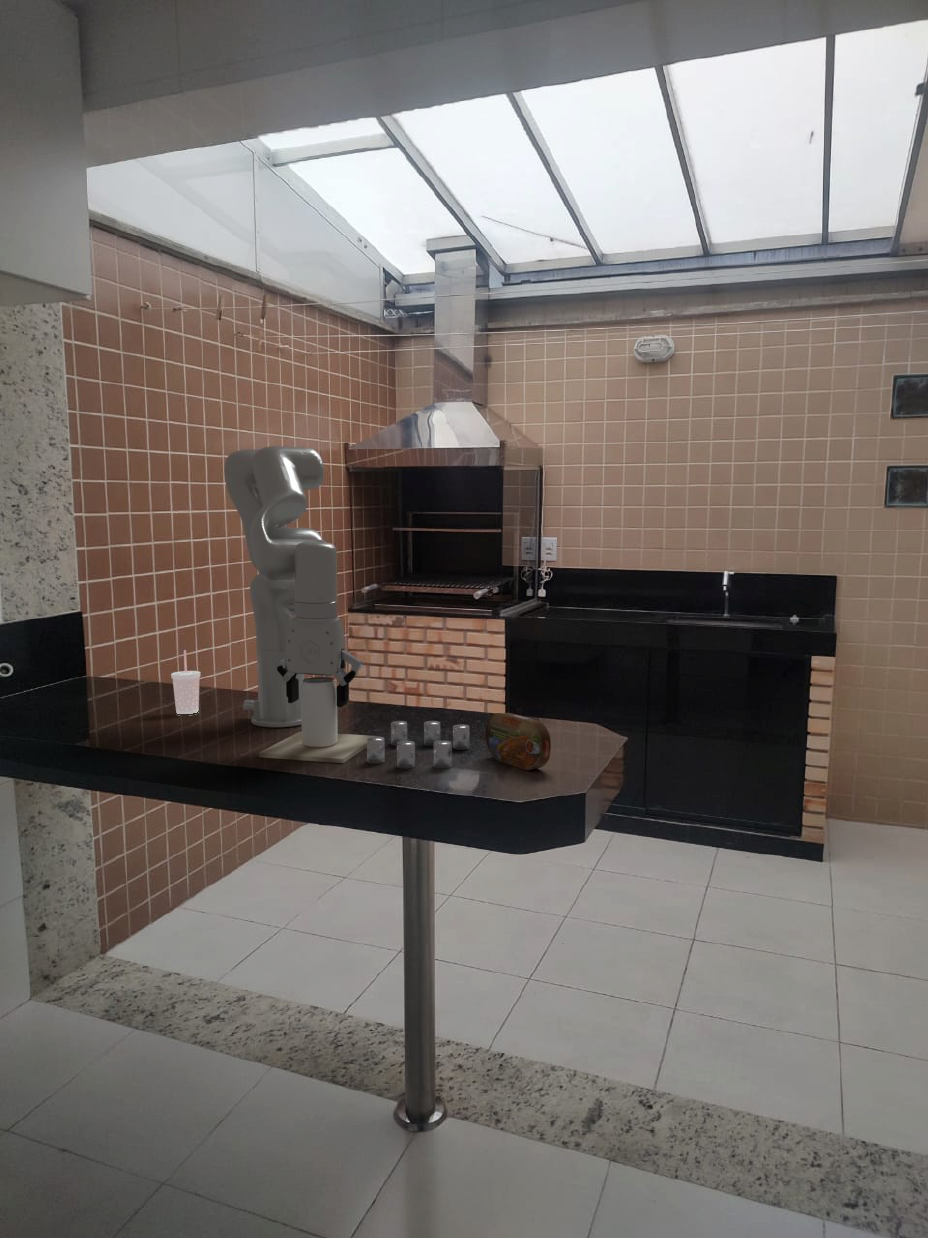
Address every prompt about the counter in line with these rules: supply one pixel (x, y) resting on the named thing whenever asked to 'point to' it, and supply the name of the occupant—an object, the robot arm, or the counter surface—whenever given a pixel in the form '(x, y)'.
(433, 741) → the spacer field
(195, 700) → the beverage cup
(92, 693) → the counter surface
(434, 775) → the counter surface
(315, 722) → the can
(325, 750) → the board
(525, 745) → the tin
